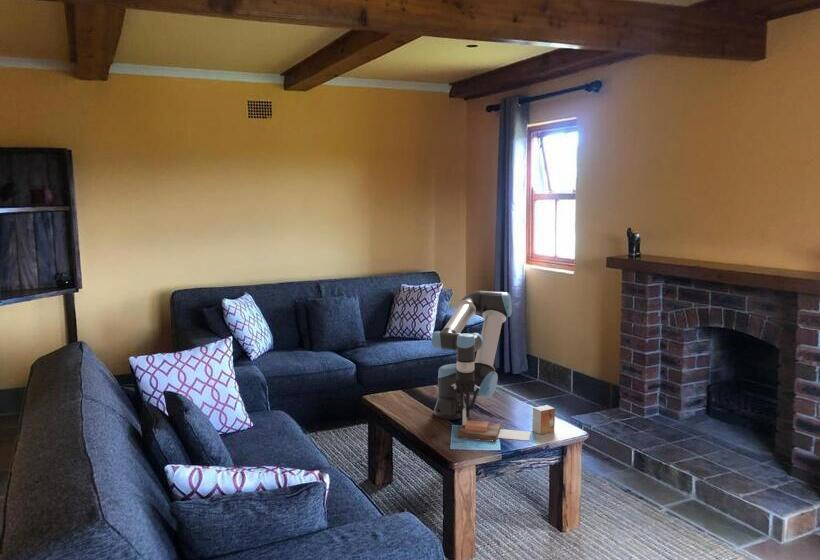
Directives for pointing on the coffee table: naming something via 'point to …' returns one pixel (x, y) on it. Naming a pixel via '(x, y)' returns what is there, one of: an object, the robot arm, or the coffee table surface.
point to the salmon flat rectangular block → (476, 425)
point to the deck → (481, 433)
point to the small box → (543, 419)
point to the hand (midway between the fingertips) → (464, 424)
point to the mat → (514, 435)
